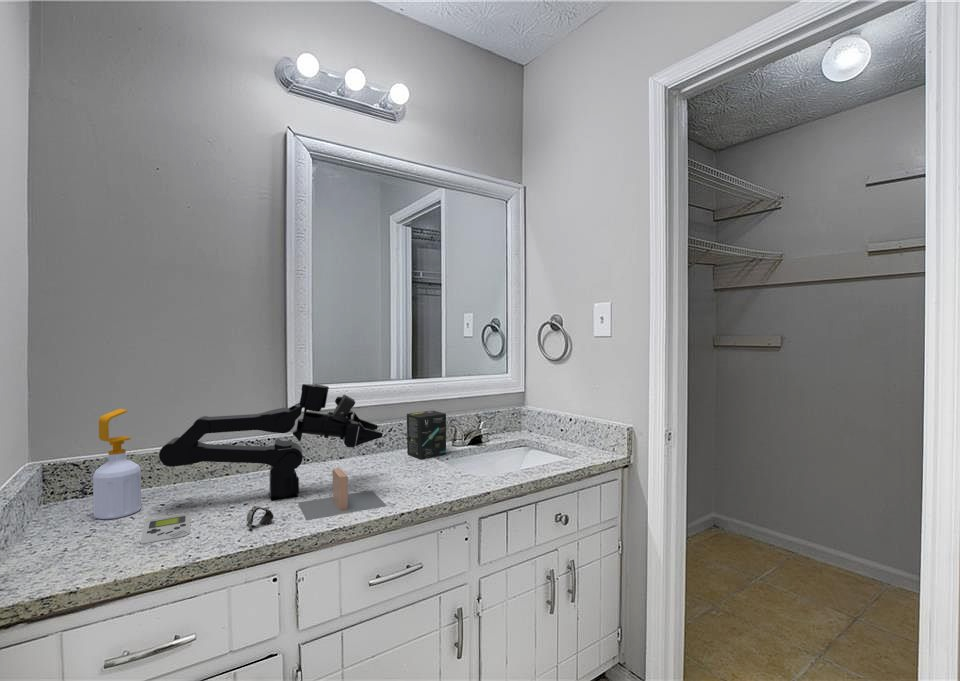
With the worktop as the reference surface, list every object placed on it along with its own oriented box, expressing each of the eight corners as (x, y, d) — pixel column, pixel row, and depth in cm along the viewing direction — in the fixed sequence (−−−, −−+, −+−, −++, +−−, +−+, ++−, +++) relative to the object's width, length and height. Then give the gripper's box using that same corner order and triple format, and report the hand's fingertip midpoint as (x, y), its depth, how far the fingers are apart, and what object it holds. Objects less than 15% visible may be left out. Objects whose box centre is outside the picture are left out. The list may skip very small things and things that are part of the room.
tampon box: (432, 449, 178) (431, 409, 177) (447, 454, 171) (447, 413, 170) (406, 454, 171) (405, 413, 170) (420, 460, 164) (420, 416, 163)
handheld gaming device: (139, 543, 99) (145, 518, 112) (139, 546, 99) (145, 521, 112) (189, 533, 103) (190, 511, 116) (190, 537, 103) (190, 514, 116)
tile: (339, 510, 117) (339, 477, 117) (332, 500, 124) (332, 468, 124) (348, 508, 118) (347, 476, 117) (340, 498, 125) (340, 467, 125)
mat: (306, 522, 111) (306, 520, 111) (297, 504, 122) (297, 502, 122) (387, 507, 120) (387, 505, 120) (372, 491, 131) (372, 490, 131)
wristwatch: (262, 535, 107) (276, 513, 110) (244, 524, 104) (258, 502, 107) (256, 532, 109) (270, 511, 112) (238, 522, 106) (252, 501, 109)
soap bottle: (148, 510, 118) (147, 409, 117) (104, 522, 110) (102, 414, 110) (130, 503, 123) (128, 406, 122) (86, 515, 115) (84, 411, 114)
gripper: (329, 401, 122) (390, 409, 127) (326, 389, 139) (380, 396, 145) (321, 445, 122) (382, 451, 127) (318, 427, 139) (373, 433, 145)
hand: (379, 431), depth 136 cm, fingers open, 9 cm apart
